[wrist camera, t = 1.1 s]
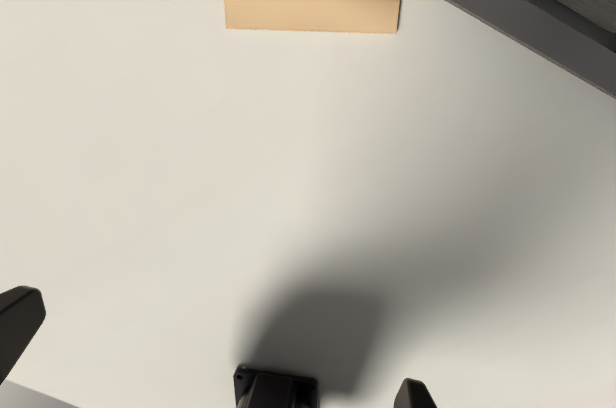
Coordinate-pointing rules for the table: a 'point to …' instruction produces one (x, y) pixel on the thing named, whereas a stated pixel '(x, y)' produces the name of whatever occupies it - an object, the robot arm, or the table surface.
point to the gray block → (595, 11)
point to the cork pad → (314, 15)
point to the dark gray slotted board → (548, 39)
